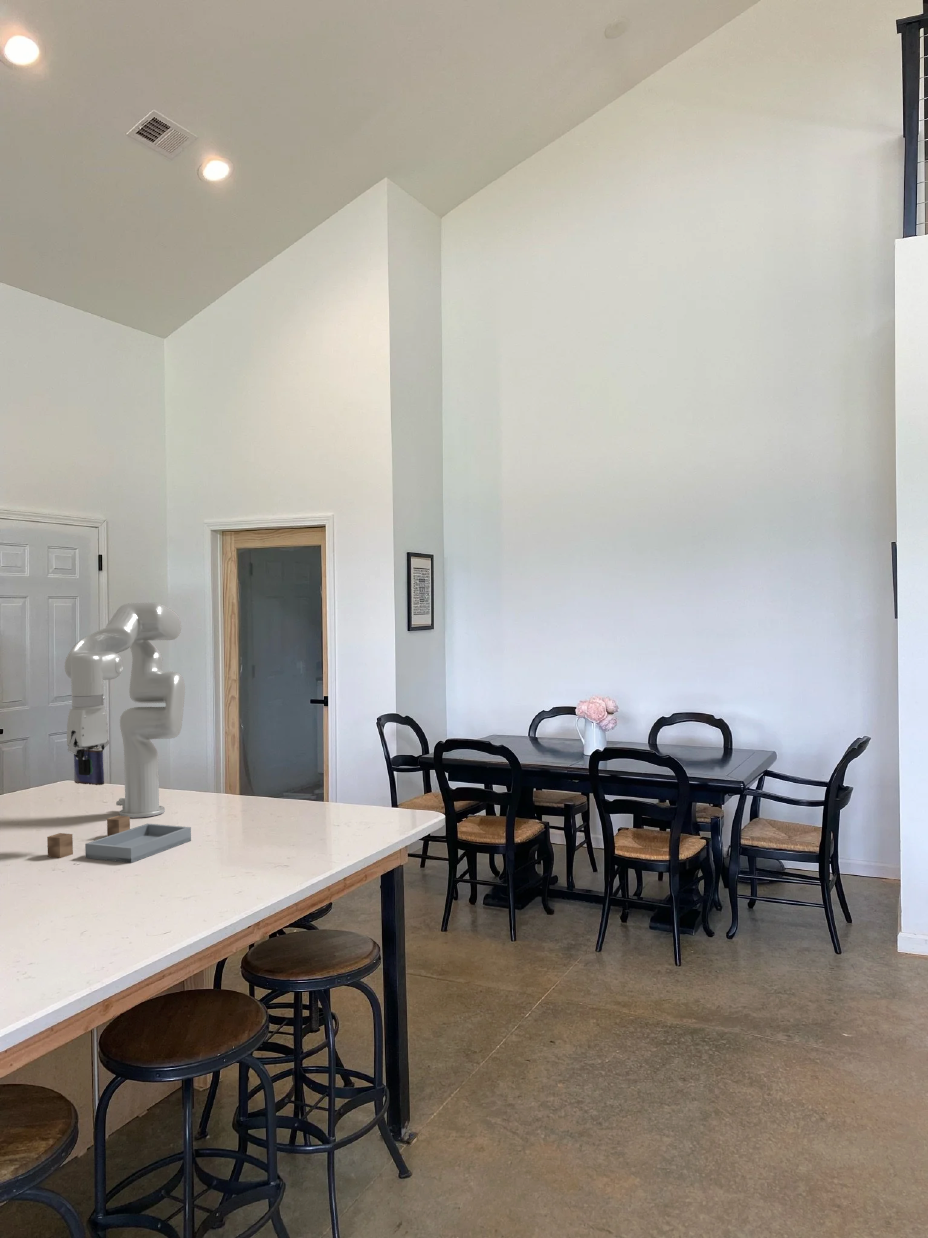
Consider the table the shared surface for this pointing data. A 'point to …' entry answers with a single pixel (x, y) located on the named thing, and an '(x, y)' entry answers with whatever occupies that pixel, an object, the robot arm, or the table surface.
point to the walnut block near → (60, 845)
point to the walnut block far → (117, 824)
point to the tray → (137, 843)
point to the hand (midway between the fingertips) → (89, 772)
